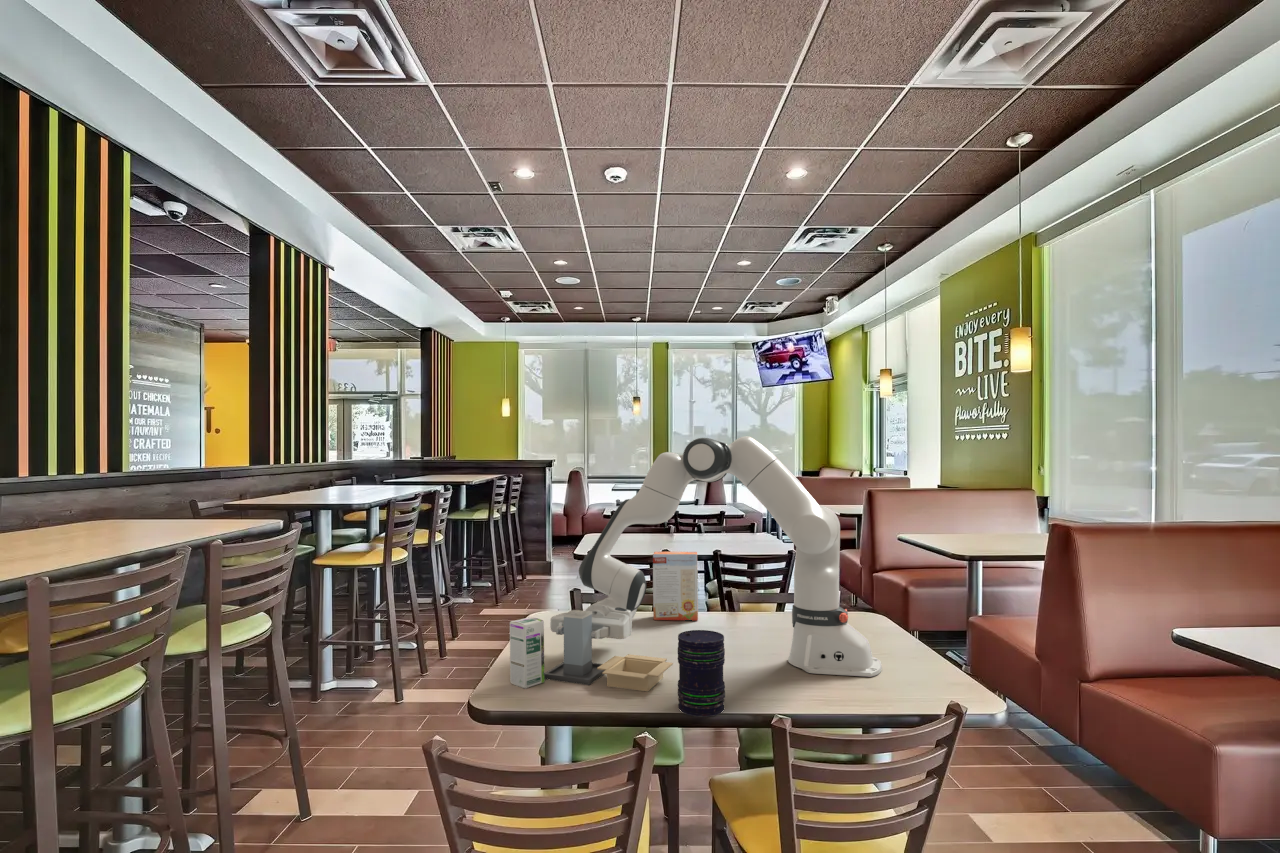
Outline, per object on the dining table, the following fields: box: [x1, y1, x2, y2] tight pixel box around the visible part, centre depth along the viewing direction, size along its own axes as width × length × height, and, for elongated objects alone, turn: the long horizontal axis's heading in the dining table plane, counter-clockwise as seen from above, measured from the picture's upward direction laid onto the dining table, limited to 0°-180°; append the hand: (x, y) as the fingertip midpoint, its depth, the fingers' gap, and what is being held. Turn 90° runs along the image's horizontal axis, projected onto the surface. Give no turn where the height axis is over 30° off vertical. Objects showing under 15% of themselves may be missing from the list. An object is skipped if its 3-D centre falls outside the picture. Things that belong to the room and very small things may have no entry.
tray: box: [544, 661, 605, 686], centre depth 171 cm, size 12×12×1 cm
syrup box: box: [509, 616, 546, 689], centre depth 165 cm, size 6×6×14 cm
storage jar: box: [677, 629, 726, 718], centre depth 149 cm, size 10×10×15 cm
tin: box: [563, 609, 593, 676], centre depth 171 cm, size 5×5×14 cm
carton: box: [597, 653, 674, 692], centre depth 166 cm, size 15×15×4 cm
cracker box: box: [652, 551, 699, 622], centre depth 225 cm, size 14×6×21 cm, turn 84°
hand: (576, 633), depth 171 cm, fingers open, 8 cm apart
